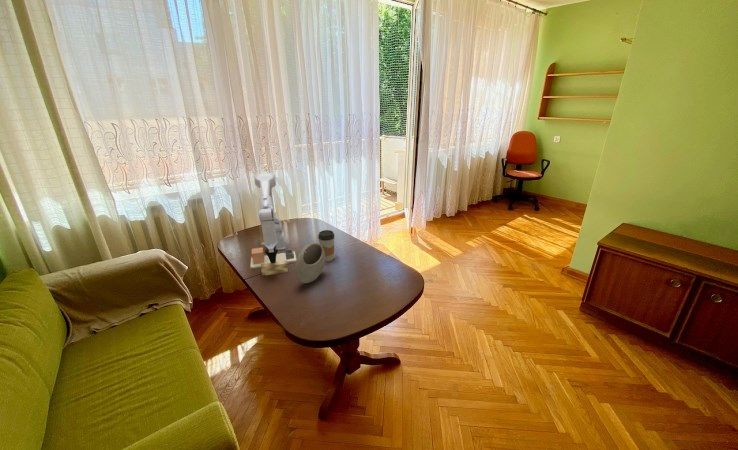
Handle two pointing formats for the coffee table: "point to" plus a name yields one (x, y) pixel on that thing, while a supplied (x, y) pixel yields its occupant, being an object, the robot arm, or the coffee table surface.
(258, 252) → the sliding end cap
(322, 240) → the coffee cup
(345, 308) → the coffee table surface
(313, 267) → the planter
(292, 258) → the cap board
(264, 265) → the slat
